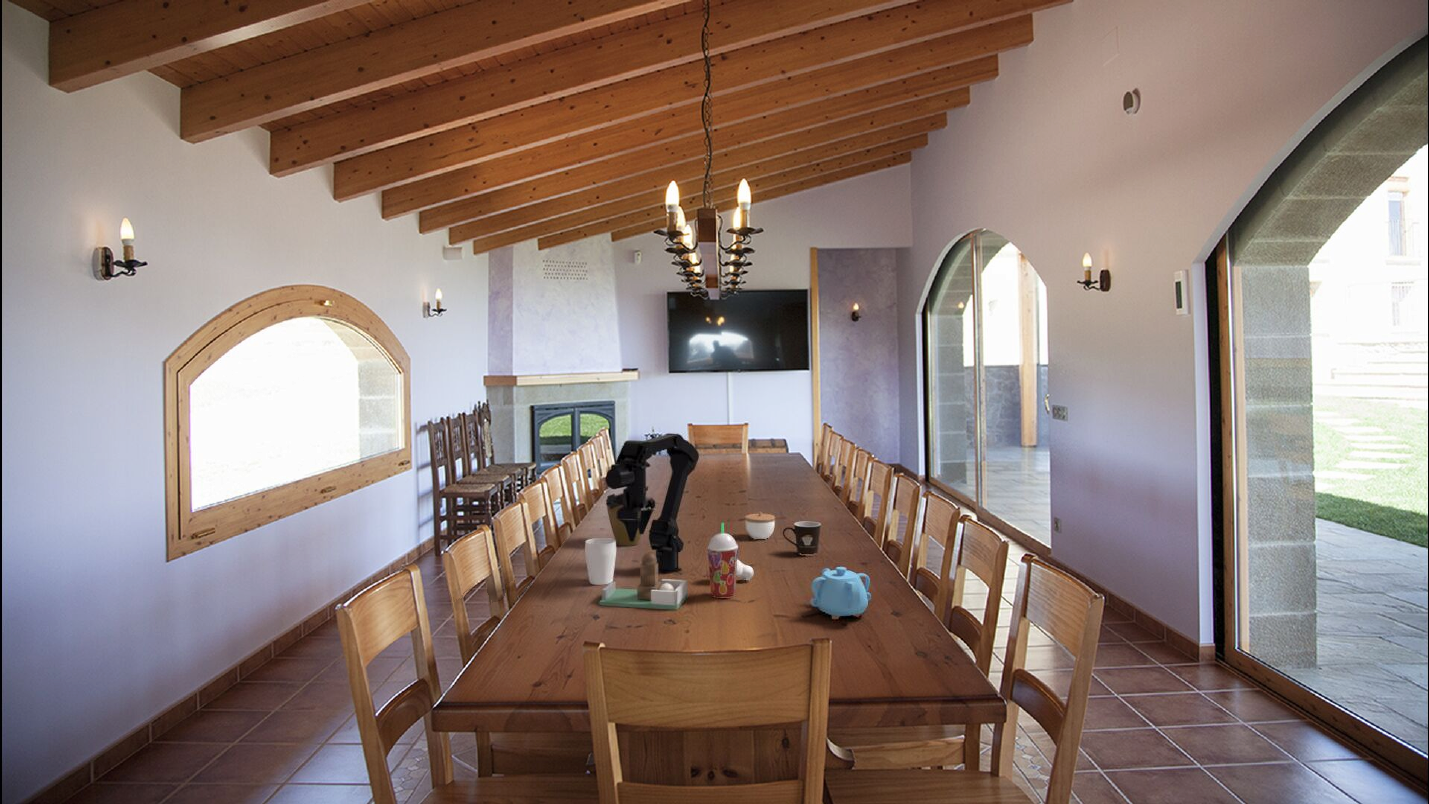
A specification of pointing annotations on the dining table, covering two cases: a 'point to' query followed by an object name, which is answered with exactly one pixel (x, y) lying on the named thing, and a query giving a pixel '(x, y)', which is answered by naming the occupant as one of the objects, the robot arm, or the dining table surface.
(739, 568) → the penguin figurine
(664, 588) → the ball
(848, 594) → the teapot
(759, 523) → the lidded jar
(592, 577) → the cup
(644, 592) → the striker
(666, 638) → the dining table surface
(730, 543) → the smoothie
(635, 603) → the pitch
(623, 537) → the plant pot
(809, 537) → the coffee mug
